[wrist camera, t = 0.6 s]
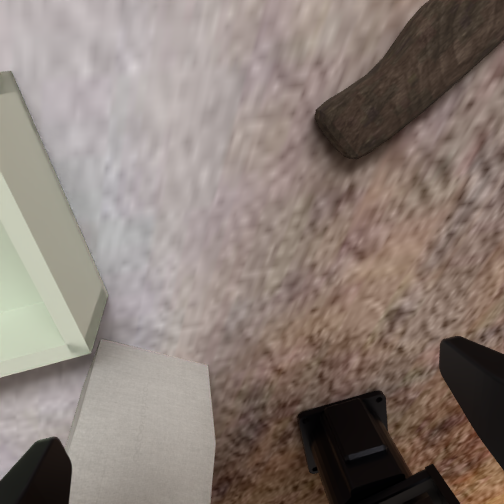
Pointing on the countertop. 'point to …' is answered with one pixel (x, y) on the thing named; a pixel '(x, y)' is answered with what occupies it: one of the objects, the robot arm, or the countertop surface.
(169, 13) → the countertop surface
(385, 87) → the cleaver
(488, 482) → the countertop surface
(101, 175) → the countertop surface
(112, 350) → the tea bag
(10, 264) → the box
